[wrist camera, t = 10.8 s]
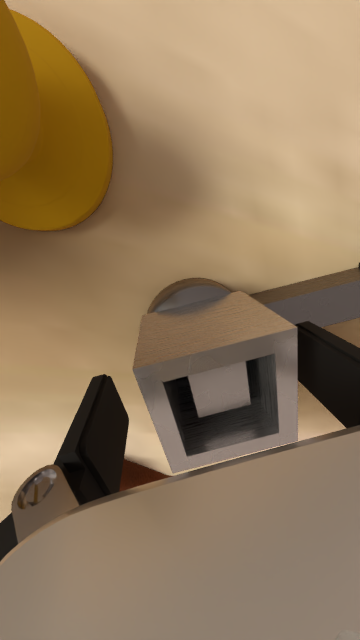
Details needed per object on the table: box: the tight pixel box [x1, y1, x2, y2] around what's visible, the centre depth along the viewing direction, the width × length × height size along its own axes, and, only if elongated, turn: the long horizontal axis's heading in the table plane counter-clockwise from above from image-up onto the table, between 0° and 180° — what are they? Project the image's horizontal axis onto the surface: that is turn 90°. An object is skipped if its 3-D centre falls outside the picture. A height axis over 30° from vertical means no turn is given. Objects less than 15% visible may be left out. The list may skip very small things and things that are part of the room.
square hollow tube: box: [133, 291, 298, 473], centre depth 10 cm, size 6×6×5 cm
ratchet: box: [147, 263, 360, 418], centre depth 12 cm, size 7×20×7 cm, turn 103°
